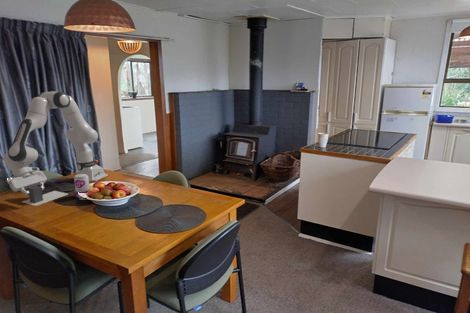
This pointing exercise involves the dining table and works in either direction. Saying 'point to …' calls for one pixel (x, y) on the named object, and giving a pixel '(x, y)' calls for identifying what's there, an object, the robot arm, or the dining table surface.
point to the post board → (47, 197)
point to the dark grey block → (35, 194)
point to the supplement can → (81, 184)
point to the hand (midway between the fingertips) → (35, 191)
